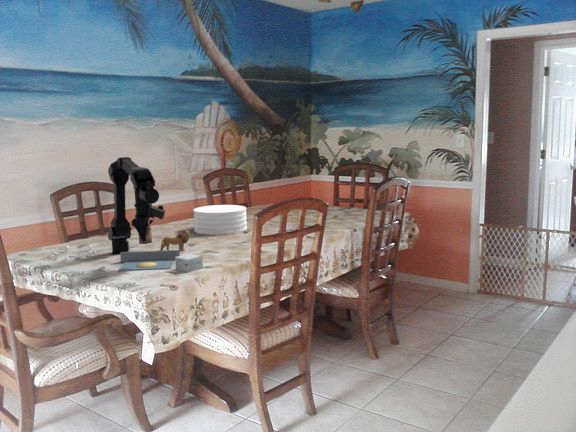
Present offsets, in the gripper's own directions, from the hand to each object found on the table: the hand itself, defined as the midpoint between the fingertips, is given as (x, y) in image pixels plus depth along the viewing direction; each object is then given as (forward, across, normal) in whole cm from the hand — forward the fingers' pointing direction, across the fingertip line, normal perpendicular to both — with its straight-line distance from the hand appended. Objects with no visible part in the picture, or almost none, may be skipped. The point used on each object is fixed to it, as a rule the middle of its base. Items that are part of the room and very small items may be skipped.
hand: (145, 239), depth 221 cm
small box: (+11, -7, -18) cm, 22 cm away
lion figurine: (+11, +26, -8) cm, 30 cm away
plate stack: (+11, +74, -27) cm, 79 cm away
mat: (+11, 0, 0) cm, 11 cm away
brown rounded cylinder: (+1, 0, 0) cm, 1 cm away
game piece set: (+11, +26, +36) cm, 46 cm away
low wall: (+11, +9, 0) cm, 14 cm away
